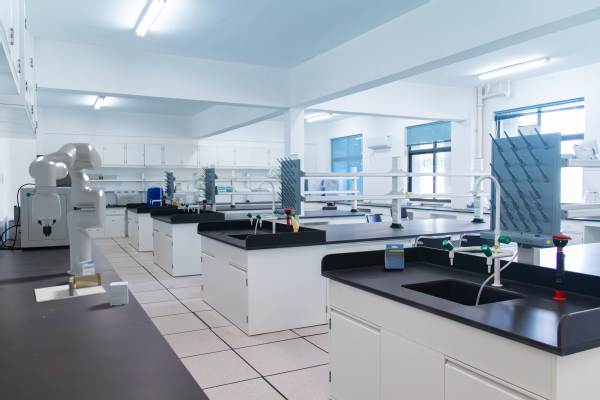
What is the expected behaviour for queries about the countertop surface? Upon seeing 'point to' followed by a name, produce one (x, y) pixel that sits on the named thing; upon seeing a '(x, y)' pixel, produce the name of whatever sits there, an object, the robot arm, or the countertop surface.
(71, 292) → the fence panel
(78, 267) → the medicine box
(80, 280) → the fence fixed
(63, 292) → the card
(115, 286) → the product box
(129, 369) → the countertop surface
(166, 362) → the countertop surface
